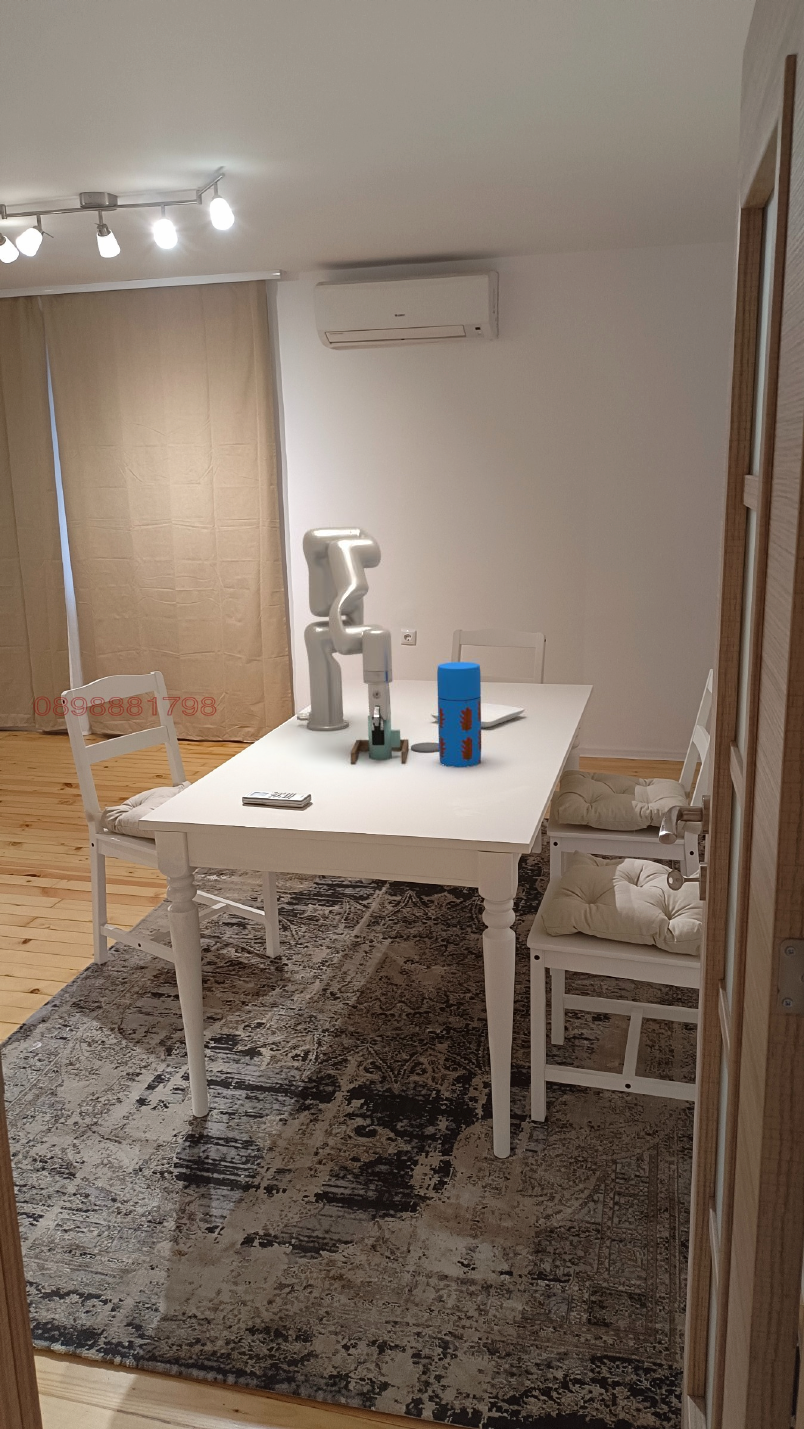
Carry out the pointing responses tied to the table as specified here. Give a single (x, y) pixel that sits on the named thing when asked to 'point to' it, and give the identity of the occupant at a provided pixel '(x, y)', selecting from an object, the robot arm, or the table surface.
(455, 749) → the thermos
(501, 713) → the salad plate
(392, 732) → the teal mug
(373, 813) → the table surface
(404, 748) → the holder
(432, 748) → the coaster
